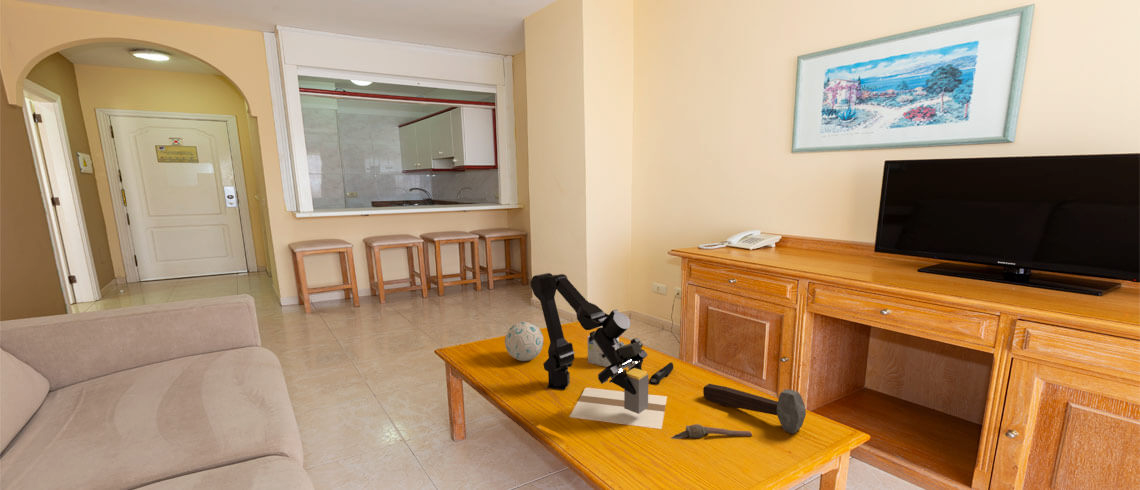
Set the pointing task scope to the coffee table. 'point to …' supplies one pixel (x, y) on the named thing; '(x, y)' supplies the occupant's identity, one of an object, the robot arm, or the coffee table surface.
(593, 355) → the light bulb box
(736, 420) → the coffee table surface
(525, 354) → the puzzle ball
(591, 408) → the board
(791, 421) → the hammer
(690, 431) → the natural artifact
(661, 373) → the electric trimmer
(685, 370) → the coffee table surface
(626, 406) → the yellow-topped grey block
